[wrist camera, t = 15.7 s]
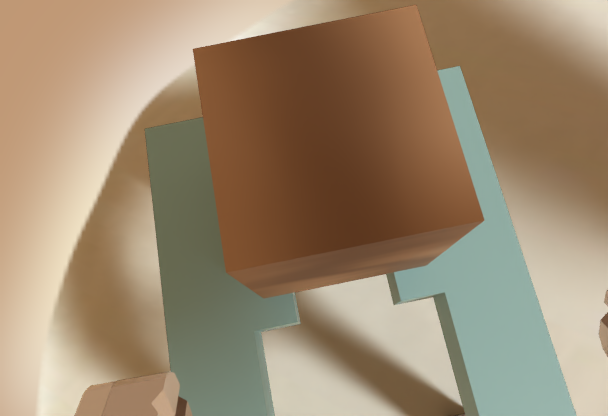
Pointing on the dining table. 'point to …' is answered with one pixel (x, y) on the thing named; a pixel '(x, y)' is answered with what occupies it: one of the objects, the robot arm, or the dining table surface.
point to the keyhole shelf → (403, 284)
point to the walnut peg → (332, 153)
